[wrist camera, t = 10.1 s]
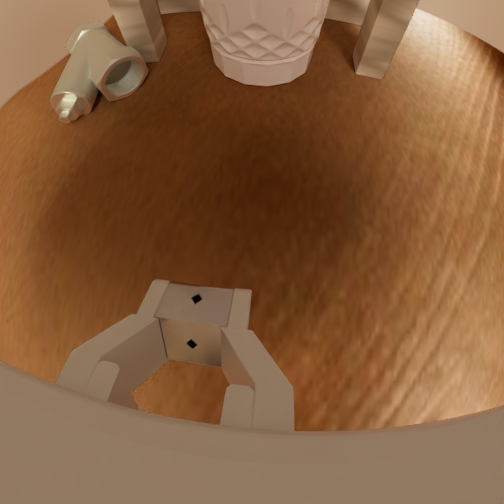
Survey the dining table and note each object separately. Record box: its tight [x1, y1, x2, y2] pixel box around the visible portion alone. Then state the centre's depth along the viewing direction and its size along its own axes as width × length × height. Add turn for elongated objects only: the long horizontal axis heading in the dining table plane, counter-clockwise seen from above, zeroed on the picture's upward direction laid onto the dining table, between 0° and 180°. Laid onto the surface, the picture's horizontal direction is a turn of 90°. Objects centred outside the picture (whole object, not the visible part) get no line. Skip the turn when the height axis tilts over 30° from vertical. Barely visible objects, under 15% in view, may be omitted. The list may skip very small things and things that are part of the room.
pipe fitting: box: [50, 22, 149, 124], centre depth 16 cm, size 8×4×7 cm
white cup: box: [198, 0, 330, 87], centre depth 13 cm, size 8×8×10 cm
